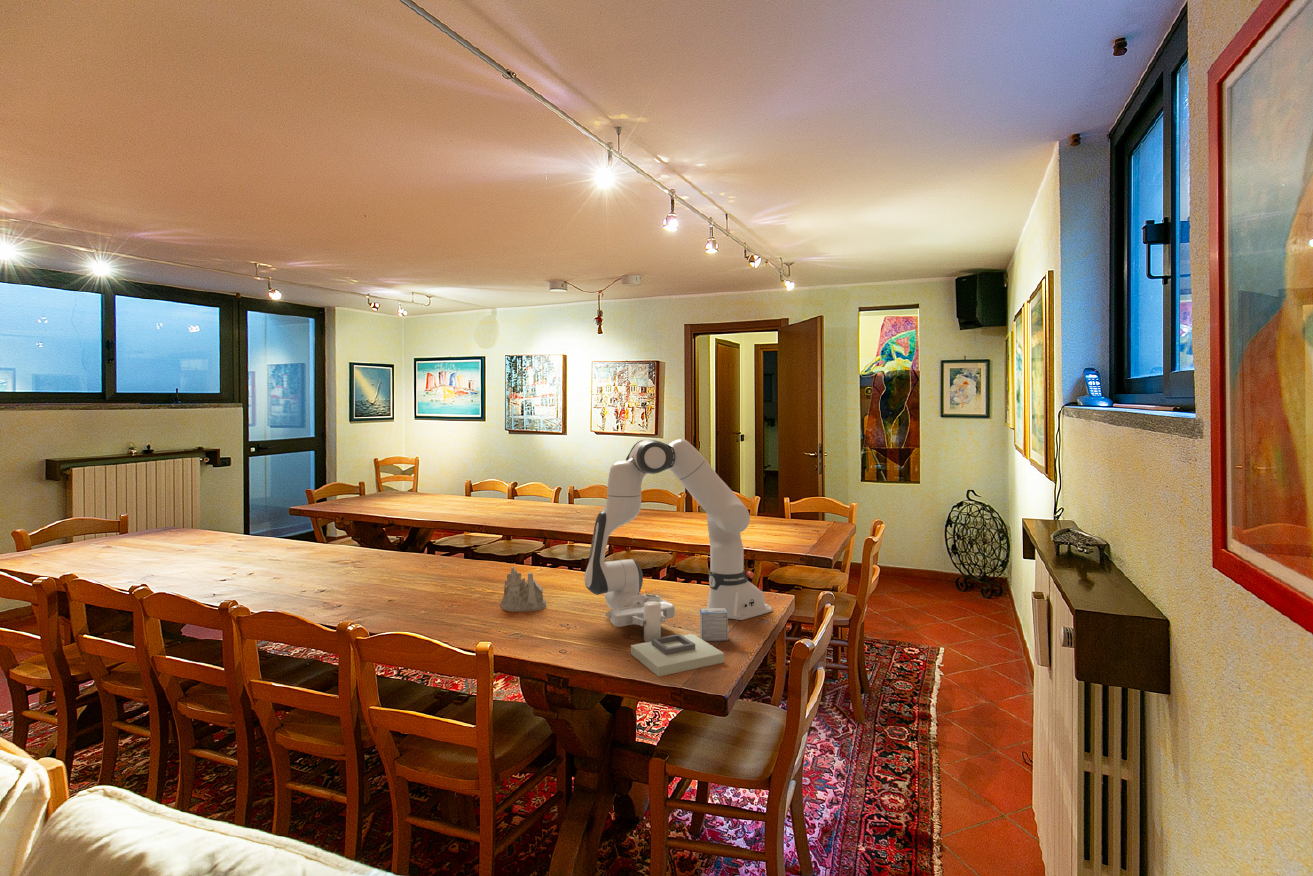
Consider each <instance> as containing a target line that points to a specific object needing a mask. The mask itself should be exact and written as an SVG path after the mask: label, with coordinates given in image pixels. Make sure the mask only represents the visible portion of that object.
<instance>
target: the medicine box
mask: <svg viewBox="0 0 1313 876" xmlns="http://www.w3.org/2000/svg"><path fill="white" fill-rule="evenodd" d="M728 620H729V618H728V613H727V611H726V609H725V608H707V607H706V608H705V607H704V608H703V607H702V608H700V609H699V630H700V631H699V635H700V636H699V637H700V639H702V640H704V641H705V642H707V641H708V642H717V641H718V642H719V641H720V642H721V641H724V642H725V641H728V640H729V639H728V635H729V633H728V632H729V631H728V626H729V625H728V623H729V621H728Z"/></svg>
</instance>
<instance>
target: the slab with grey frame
mask: <svg viewBox="0 0 1313 876" xmlns="http://www.w3.org/2000/svg"><path fill="white" fill-rule="evenodd" d="M630 655H631V656H632V657H634V658H635V659H636V660H638V661H639V662H640V663H641V664H642V665H644V666H645V667H646V668H647V669H648V670H650V671H651V672H652V673H654V674H655V675H656V676H657V677H663V676H667V675H672V674H675V673H682V672H685V671H691V670H695V669H699V668H704V667H708V666H714V665H718V664H722V663H723V664H724V663H725V653H724V652H723V651H722V650H720V649H718V648H716V647H715V646H713V645H711V644H710V643H709V642H707V641H704V640H702V639H701V637H700V636H698V635H695V634H694V633H689V634H684V635H683V634H681V633H677V634H671V635H665V636H661V637H660V638H654V639H652V641H651V642H642V643H641V642H640V643H636V644H631V645H630Z"/></svg>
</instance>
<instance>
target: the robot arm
mask: <svg viewBox="0 0 1313 876" xmlns="http://www.w3.org/2000/svg"><path fill="white" fill-rule="evenodd" d="M667 470H670V471H671V472H672V473H673V474H674V475H675V477H676V478H677V479H678V481H679V482H680V483H681V485H683V487H684V488H685V490H687V492H688V493H689V494H690V496H691V497H692V498H693V500H694V501H696V502H697V503H698V504H699V506H700V507H701V508H702V509H703V511H705V513H706V520H707V531H708V539H709V547H710V550H709V551H710V553H709V555H710V558H709V559H710V562H709V563H710V568H709V571H708V572H709V573H708V582H709V583H708V584H709V594H708V600H707V604H706V605H707V606H706V608H725V609H726V611H727V613H728V619H732V620H738V621H744V620H747V619H751V618H754V617H757V616H761V615H764V614H768V613H771V612H772V607H771V605H769V604H768V603H766V602H765V596H764V593H763V591H762V590H761V589H760V588H758V587H757V586H756V585H754V584H753V583H752V582H751V581H749V578H750V579H753V577H754V576H755V573H754V572H753V571H749V570H748V571H747V570H745V569H744V543H743V541H742V538H741V537H742V536H741V533H742V532H744V531H745V530H746V529H747V528H748V526H749V524H750V521H751V515H750V512H749V510H748V508H747V507H746V505H745V504H744V503H743V501H742V500H741V499H740V498H739V497H738V496H737V495H736V494H735V492H734V491H733V490H732V489H731V488H730V487H729V486H728V484H727V483H726V482H725V481H724V480H723V479H722V478H721V477H720V476H719V474H717V472H716V471H715V470H714V469H713V467H712V466H711V465H710V463H709V462H708V461H707V460H706V458H705V457H704V456H703V454H701V453H700V451H699V450H698V449H697V448H696V447H695V446H693V444H691V443H690V441H688V440H687V439H684V438H678V439H674V440H673V441H671V442H670V443H669V444H667V443H665V442H662V441H659V440H657V439H651V438H647V439H641V440H638V441H637V442H636V443H634V445H632V448H631V449H630V451H629V453H628V455H627V457H626V458H625V460H624V459H623V460H618V461H617V462H616V461H615V462H614V463H613V464H612V465H611V467H610V468H609V474H608V480H607V493H606V495H607V497H606V502H605V505H604V507H603V509H602V510H601V512H599V513H598V514H597V516H596V519H595V523H594V527H593V532H592V533H593V534H592V537H591V538H592V539H591V543H590V545H591V546H590V552H589V557H588V561H587V565H586V568H585V571H584V585H585V587H586V589H587V590H589V592H590V593H592V594H593V595H595V596H598V595H604V600H605V602H606V604H607V606H608V608H609V609H610V610H608V611H607V612H606V613H605V617H606V618H608V619H610V623H611V624H612V625H613V626H614V627H616V628H621V627H622V628H623V627H626V626H632V625H633V626H634V625H637V626H641V627H644V625H646V619H644V603H646V602H651V601H654V602H659V603H661V623H664V622H666V620H667V619H673V618H674V617H675V615H676V608H675V605H674V604H673V603H671V602H669V600H666V599H664V598H661V597H660V595H658V594H642V593H640V592H641V590H642V587H643V583H644V578H643V577H644V576H643V575H644V574H643V571H642V568H641V567H640V565H639V564H638V562H637V561H636V560H634V559H632V558H629V559H618V560H609V561H605V558H606V557H605V556H606V550H607V545H608V540H609V537H610V535H611V534H612V533H613V532H614V531H615V530H617V529H618V528H620V527H622V526H625V525H626V524H628V523H630V522H632V521H633V520H634V519H635V518H637V516H638V515H639V513H640V511H641V507H642V482H643V479H644V477H645V476H646V475H647V474H651V475H654V474H659V473H662V472H665V471H667Z"/></svg>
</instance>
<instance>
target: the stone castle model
mask: <svg viewBox="0 0 1313 876" xmlns="http://www.w3.org/2000/svg"><path fill="white" fill-rule="evenodd" d="M510 568H511V569H510V573H506V579H504V587H503V588H504V589H503V597H502V599H501V601H500V607H502V608H503V609H502V608H501V609H502V610H503V611H506V612H514V613H515V612H517V613H518V612H537V611H541V610H544V609H546V608H547V602H546V599H544V595H543V593H544V589H543V587H542V586H541V585H540V584H539V583H538V582H537V581H536V580H535V579H534V575H533V572H530V571H529V572H528V573H527V579H526V577H523V578H522V572H518V571H517V569H515V567H514V566H511V567H510ZM545 607H546V608H545Z"/></svg>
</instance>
